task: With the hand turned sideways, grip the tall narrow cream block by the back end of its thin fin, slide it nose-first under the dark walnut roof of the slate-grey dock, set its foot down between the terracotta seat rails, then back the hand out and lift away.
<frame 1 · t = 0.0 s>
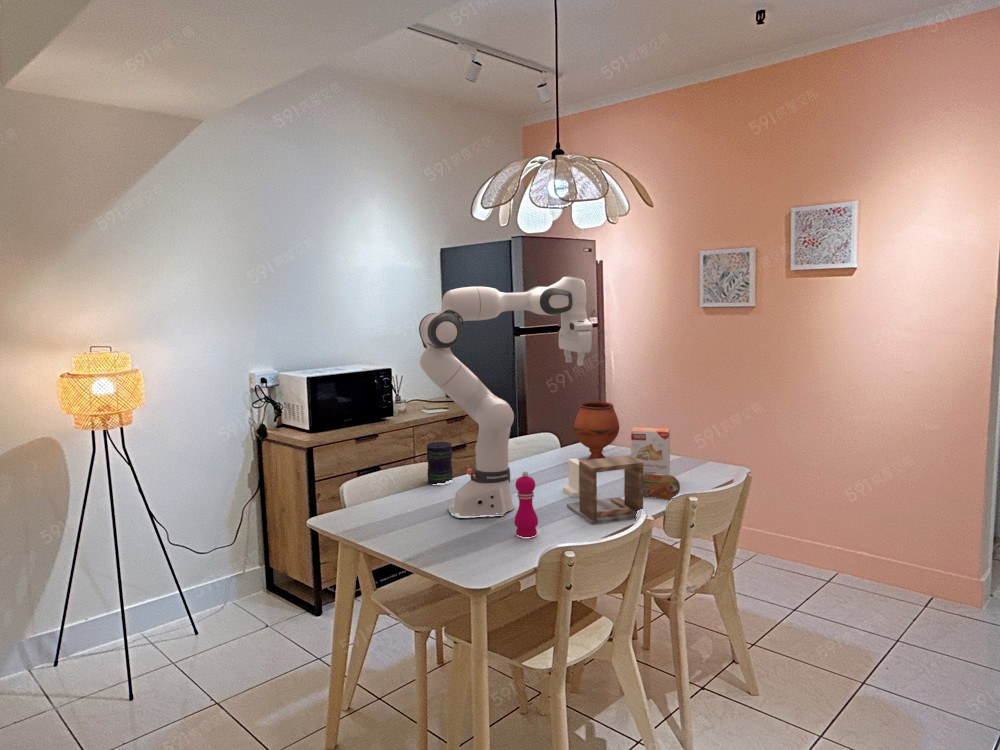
hand: (574, 363, 237), 48 cm above the table, tool pointing down, fingers open, 8 cm apart
goblet: (596, 462, 291), on the table
storage jar: (440, 482, 267), on the table
pepper mill: (526, 536, 208), on the table
tin: (658, 497, 241), on the table
tall narrow cream block: (577, 492, 249), on the table
dock: (604, 510, 229), on the table
cracker box: (650, 483, 258), on the table
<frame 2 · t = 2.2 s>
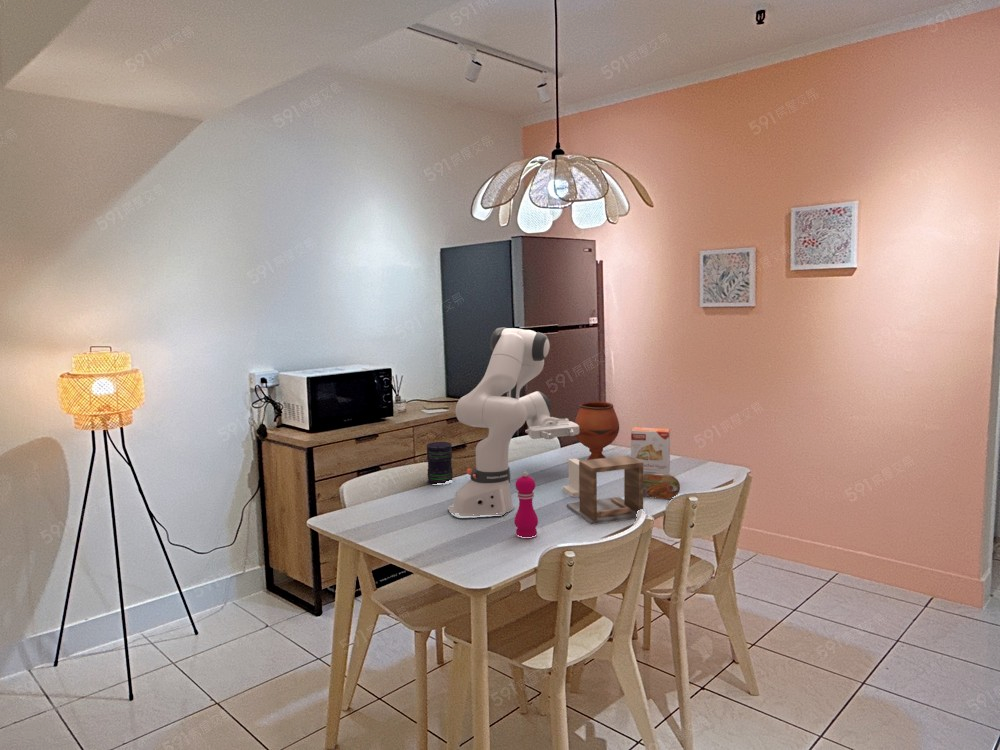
hand: (561, 435, 261), 18 cm above the table, tool horizontal, fingers open, 8 cm apart
nothing on the table moved.
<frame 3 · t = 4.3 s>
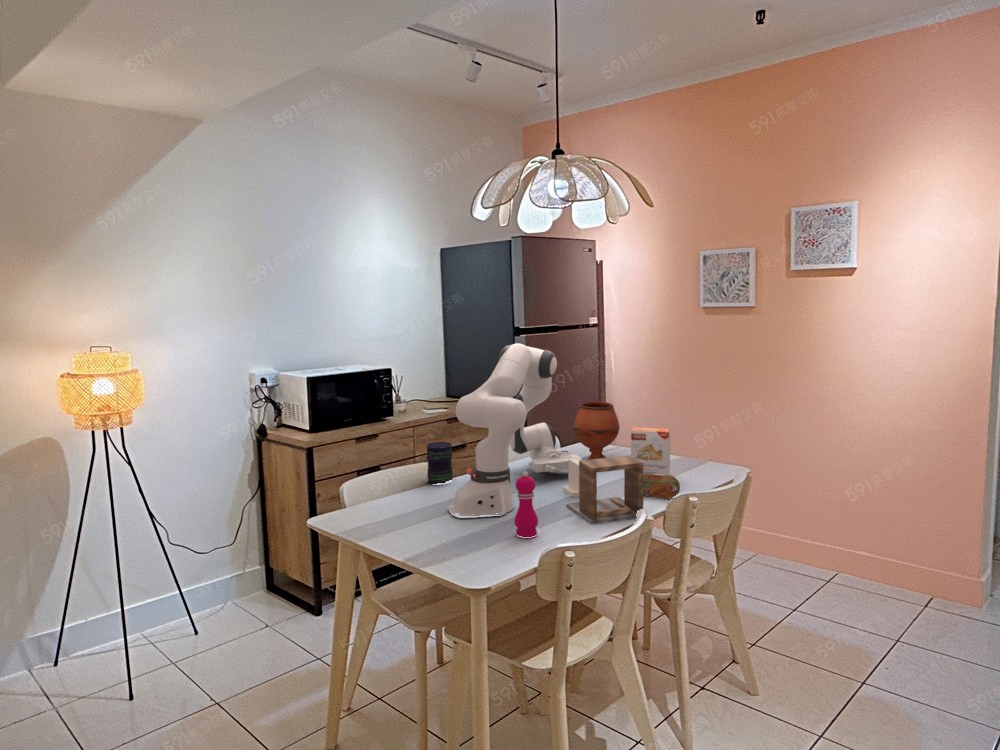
hand: (564, 468, 259), 6 cm above the table, tool horizontal, fingers open, 8 cm apart
nothing on the table moved.
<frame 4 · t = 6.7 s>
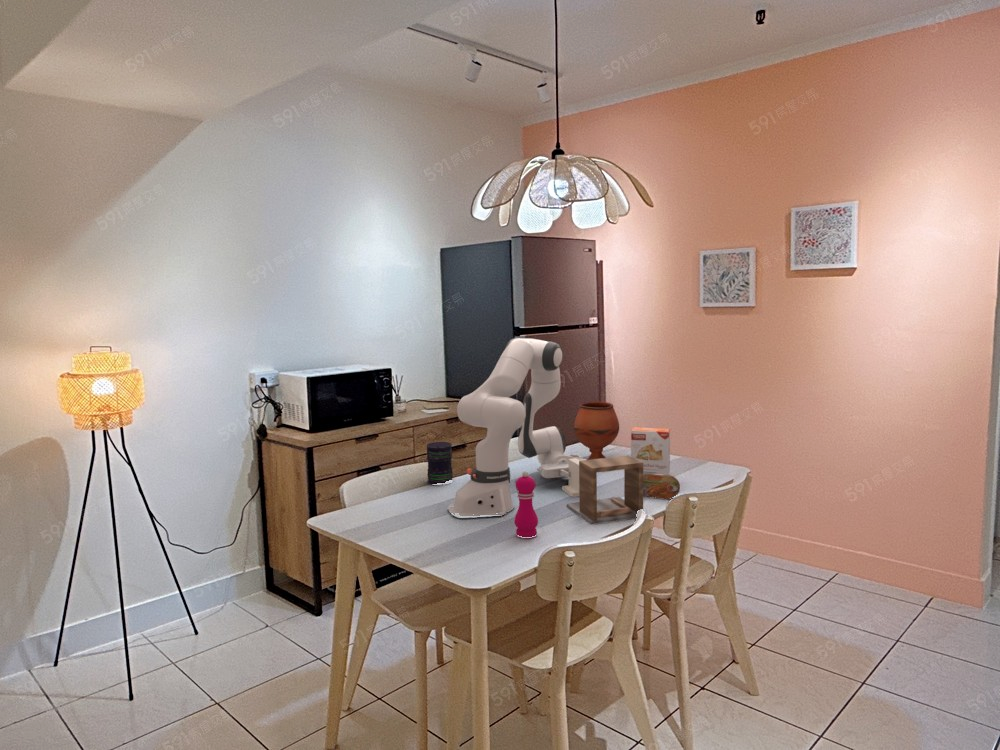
hand: (574, 474, 251), 6 cm above the table, tool horizontal, fingers closed on tall narrow cream block, 3 cm apart
tall narrow cream block: (577, 492, 249), on the table, touching gripper
everything else where it was.
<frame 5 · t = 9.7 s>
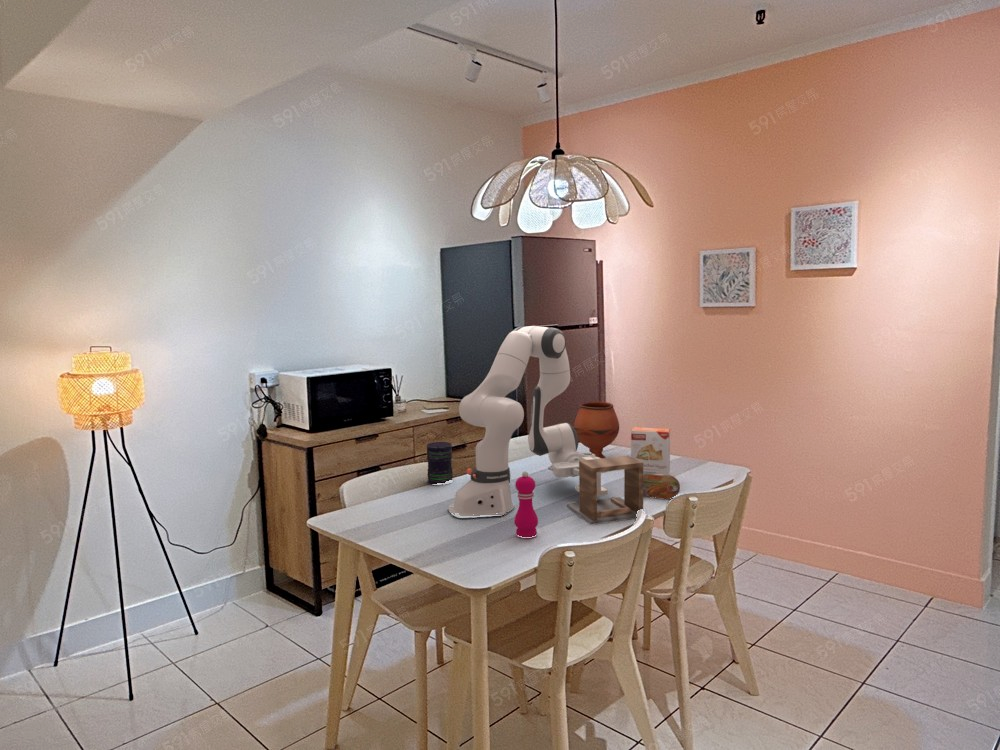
hand: (588, 473, 239), 10 cm above the table, tool horizontal, fingers closed on tall narrow cream block, 3 cm apart
tall narrow cream block: (591, 492, 238), point 3 cm above the table, touching gripper
everything else where it was.
when the fingers open (8 cm above the table, at t = 13.0 s): tall narrow cream block drops 1 cm, resting on dock.
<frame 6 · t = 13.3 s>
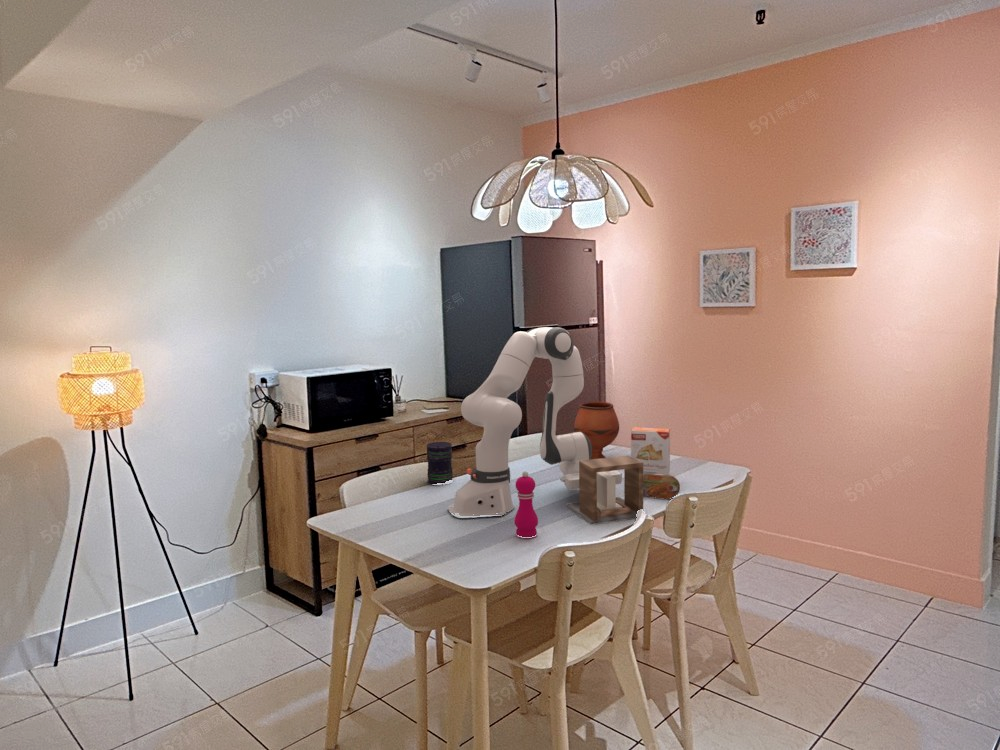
hand: (602, 485, 229), 8 cm above the table, tool horizontal, fingers open, 6 cm apart
tall narrow cream block: (605, 508, 228), point 1 cm above the table, touching dock
everything else where it was.
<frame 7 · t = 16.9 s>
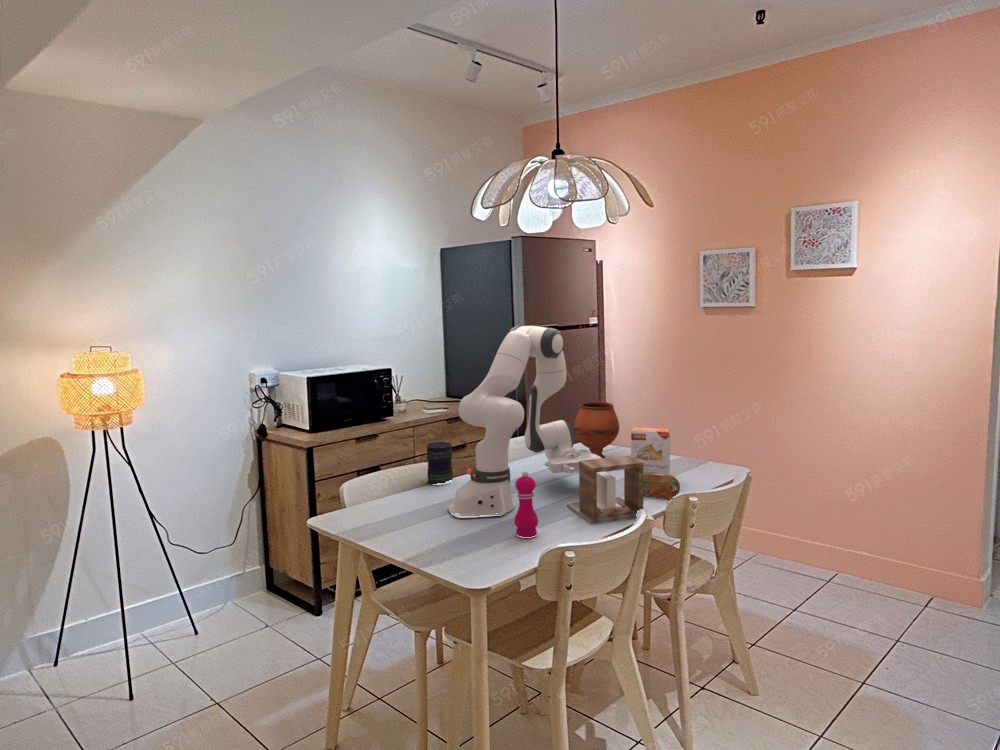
hand: (584, 469, 242), 10 cm above the table, tool horizontal, fingers open, 8 cm apart
nothing on the table moved.
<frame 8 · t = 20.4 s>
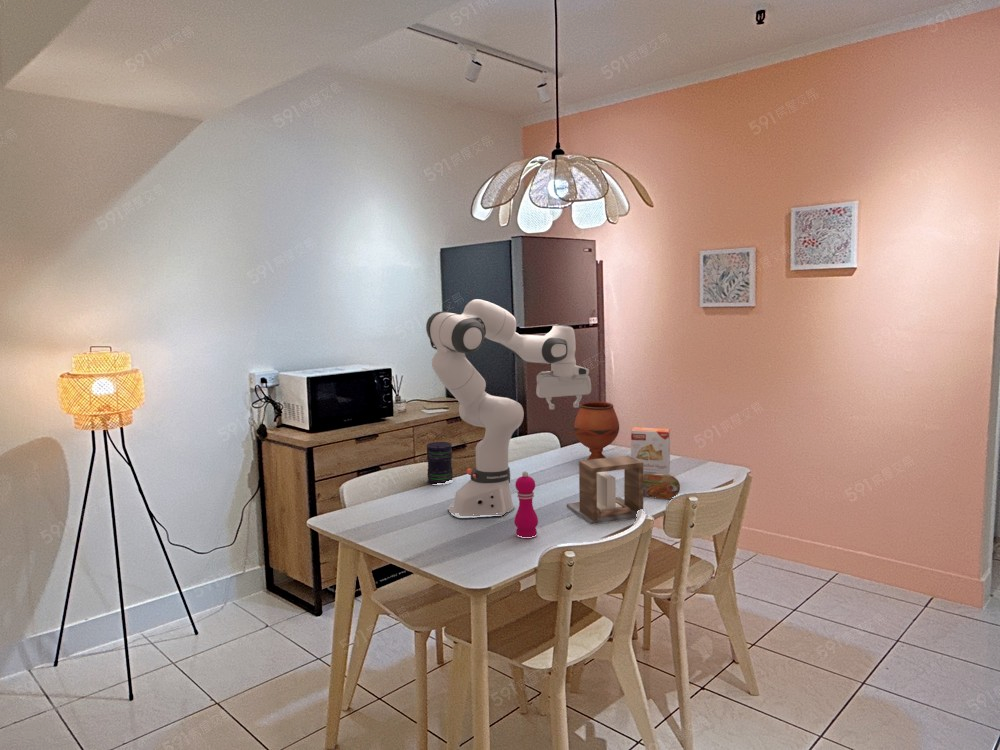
hand: (564, 408, 246), 31 cm above the table, tool pointing down, fingers open, 8 cm apart
nothing on the table moved.
at the end: tall narrow cream block 0.2 cm from the target spot on the dock, point 1.0 cm above the dock's base; tall narrow cream block tilted 0°; the gripper is holding nothing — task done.
